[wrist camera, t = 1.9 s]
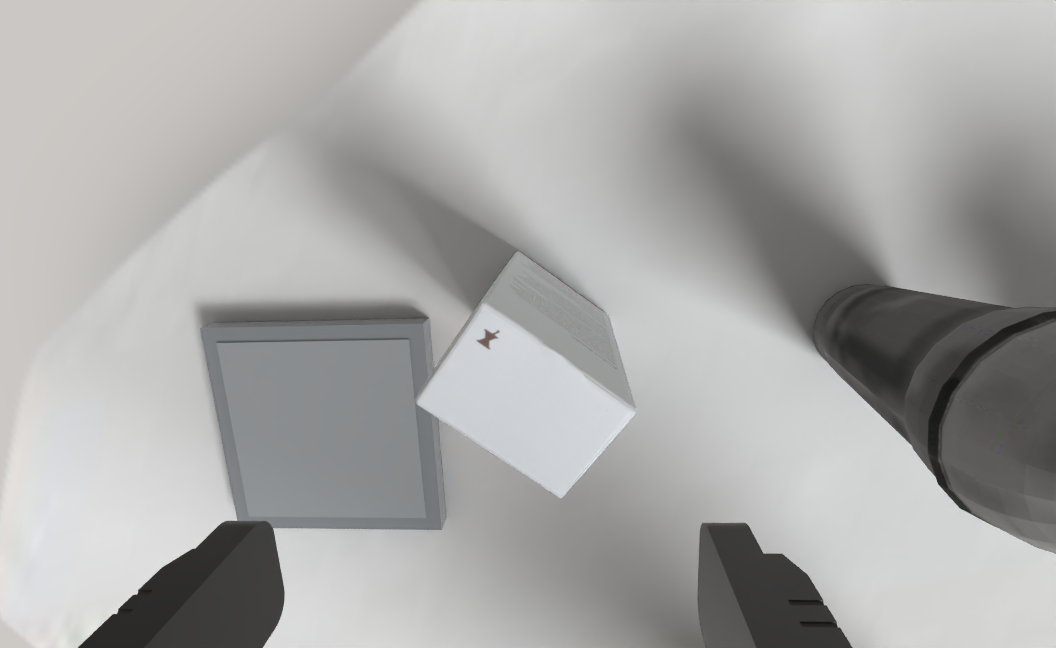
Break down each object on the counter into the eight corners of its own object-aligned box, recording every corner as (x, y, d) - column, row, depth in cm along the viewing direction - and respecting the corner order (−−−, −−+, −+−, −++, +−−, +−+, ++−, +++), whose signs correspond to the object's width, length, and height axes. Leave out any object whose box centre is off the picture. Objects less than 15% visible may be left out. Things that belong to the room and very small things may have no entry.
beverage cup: (825, 235, 27) (1509, 374, 7) (965, 284, 27) (2011, 550, 7) (761, 369, 28) (1167, 762, 9) (892, 414, 29) (1572, 900, 9)
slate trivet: (429, 318, 29) (422, 324, 28) (446, 517, 32) (441, 530, 31) (214, 322, 30) (199, 328, 29) (250, 515, 33) (238, 528, 32)
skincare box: (471, 314, 29) (405, 401, 17) (517, 248, 28) (480, 294, 16) (564, 379, 29) (561, 506, 18) (613, 317, 28) (643, 409, 17)
